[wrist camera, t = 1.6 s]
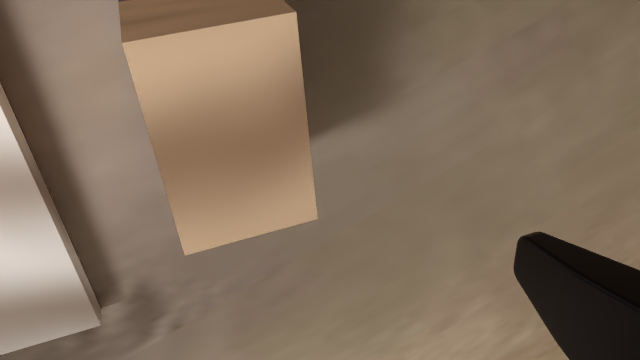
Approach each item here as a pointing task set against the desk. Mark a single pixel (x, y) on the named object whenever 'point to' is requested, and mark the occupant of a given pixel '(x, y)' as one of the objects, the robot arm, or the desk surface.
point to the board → (35, 253)
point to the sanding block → (223, 114)
